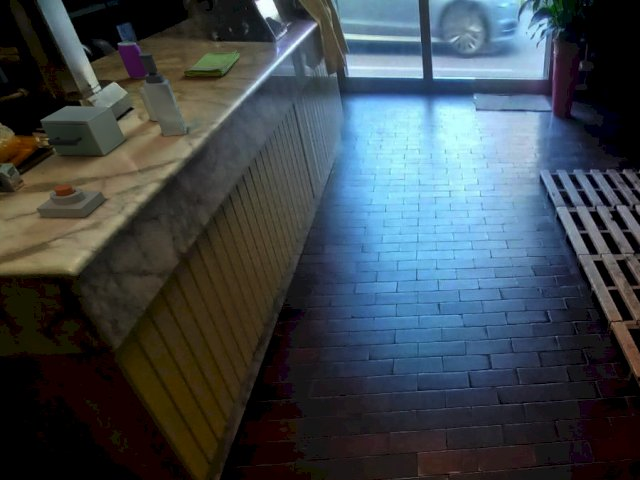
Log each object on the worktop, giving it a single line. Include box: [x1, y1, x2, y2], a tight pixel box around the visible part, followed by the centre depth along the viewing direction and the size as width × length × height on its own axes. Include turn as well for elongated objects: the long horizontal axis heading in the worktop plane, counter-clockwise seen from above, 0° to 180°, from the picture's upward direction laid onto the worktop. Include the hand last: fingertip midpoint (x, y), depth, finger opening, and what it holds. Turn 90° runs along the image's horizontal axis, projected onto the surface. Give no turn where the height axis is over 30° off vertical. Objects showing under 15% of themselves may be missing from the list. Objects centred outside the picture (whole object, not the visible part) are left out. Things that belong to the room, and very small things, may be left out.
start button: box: [53, 183, 75, 196], centre depth 125 cm, size 4×4×2 cm
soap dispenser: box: [139, 52, 187, 137], centre depth 162 cm, size 6×9×22 cm
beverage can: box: [117, 41, 148, 80], centre depth 209 cm, size 8×8×12 cm
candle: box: [138, 85, 158, 122], centre depth 174 cm, size 6×6×10 cm
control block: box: [36, 186, 106, 218], centre depth 126 cm, size 10×10×4 cm
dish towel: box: [183, 50, 241, 78], centre depth 228 cm, size 15×36×3 cm, turn 9°
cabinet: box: [39, 105, 126, 157], centre depth 153 cm, size 14×13×10 cm
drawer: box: [41, 124, 100, 155], centre depth 151 cm, size 17×11×8 cm
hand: (0, 82), depth 125 cm, fingers closed
